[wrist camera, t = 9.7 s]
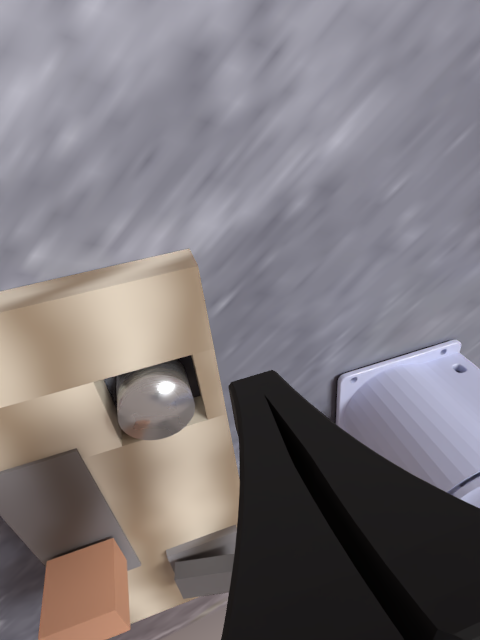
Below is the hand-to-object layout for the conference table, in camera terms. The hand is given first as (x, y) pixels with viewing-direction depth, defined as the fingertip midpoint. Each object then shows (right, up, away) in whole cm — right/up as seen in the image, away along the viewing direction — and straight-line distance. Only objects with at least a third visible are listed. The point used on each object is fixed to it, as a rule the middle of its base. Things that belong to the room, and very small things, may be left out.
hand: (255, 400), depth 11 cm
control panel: (-7, -8, +14) cm, 18 cm away
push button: (-5, -1, +10) cm, 11 cm away
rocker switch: (-3, -16, +17) cm, 23 cm away
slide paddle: (-10, -13, +13) cm, 21 cm away
